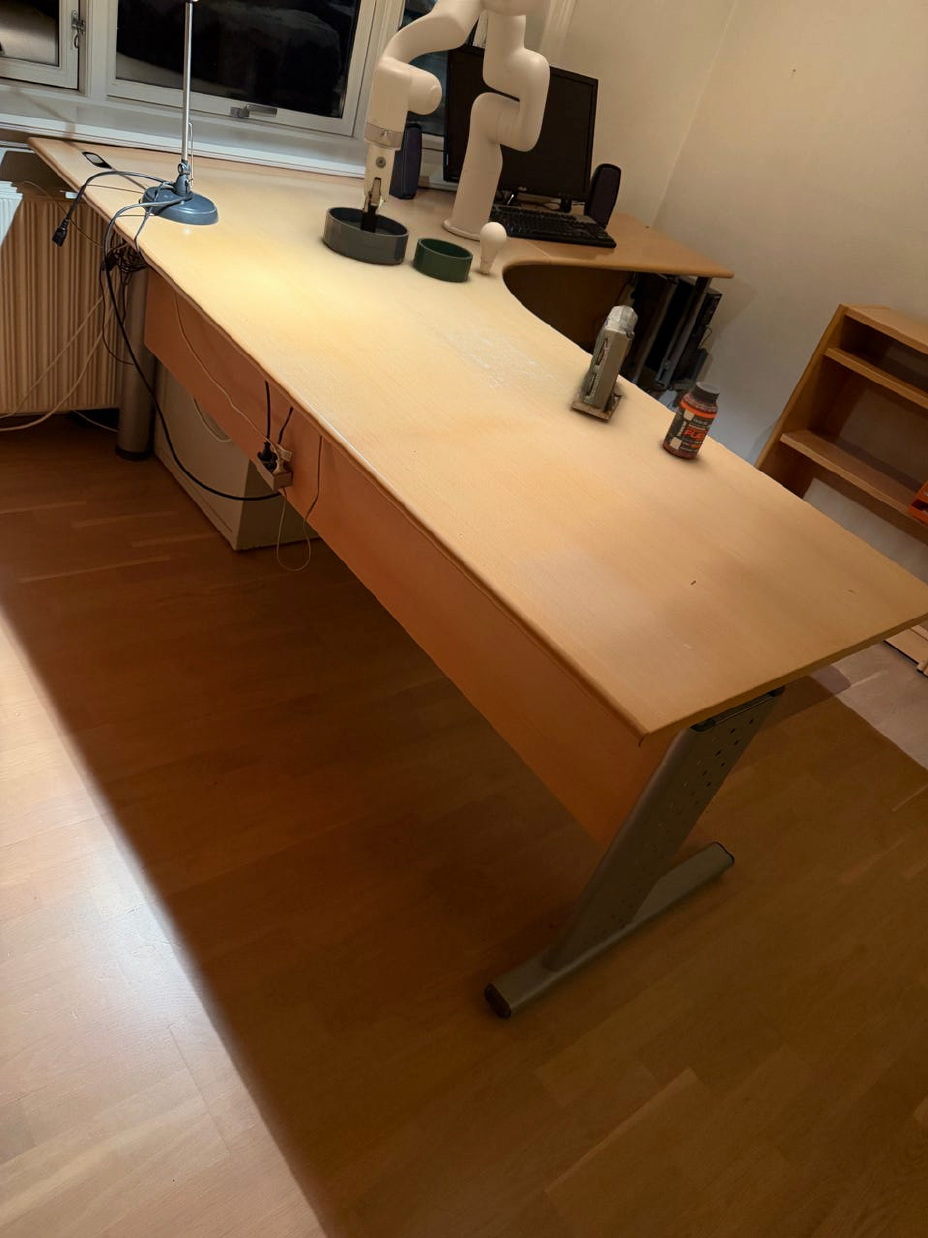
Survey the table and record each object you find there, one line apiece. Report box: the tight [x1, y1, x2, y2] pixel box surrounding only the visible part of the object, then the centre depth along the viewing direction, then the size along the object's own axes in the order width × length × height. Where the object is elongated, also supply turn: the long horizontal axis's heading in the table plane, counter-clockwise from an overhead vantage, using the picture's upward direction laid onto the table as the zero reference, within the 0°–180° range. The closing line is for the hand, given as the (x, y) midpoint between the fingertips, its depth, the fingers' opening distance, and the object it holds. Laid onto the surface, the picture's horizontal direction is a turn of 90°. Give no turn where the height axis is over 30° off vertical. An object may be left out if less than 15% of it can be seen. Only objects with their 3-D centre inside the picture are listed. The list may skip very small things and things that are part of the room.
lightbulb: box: [479, 221, 508, 274], centre depth 189 cm, size 6×6×11 cm
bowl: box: [322, 206, 411, 265], centre depth 180 cm, size 18×18×6 cm
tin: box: [412, 237, 474, 283], centre depth 182 cm, size 12×13×5 cm
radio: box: [571, 304, 639, 421], centre depth 144 cm, size 23×9×15 cm, turn 158°
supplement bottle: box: [662, 381, 721, 459], centre depth 134 cm, size 6×6×11 cm
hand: (367, 230), depth 179 cm, fingers closed on tin lid, 3 cm apart
